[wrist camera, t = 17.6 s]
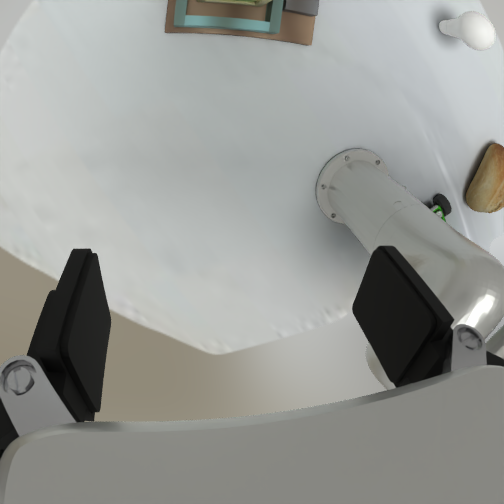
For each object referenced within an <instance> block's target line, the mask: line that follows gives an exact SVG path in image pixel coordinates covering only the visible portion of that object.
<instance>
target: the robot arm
mask: <svg viewBox="0 0 504 504" xmlns="http://www.w3.org/2000/svg"><path fill="white" fill-rule="evenodd" d="M345 156H346V157H345ZM316 196H317V201H318V204H319V207H320V208H321V210H322V211H323V213H324V214H325V215H326V216H327V217H328V218H329V219H331V220H332V221H335V222H337V223H341V224H346V225H347V226H348V228H349V229H350V230H351V231H352V232H353V234H354V235H355V236H356V237H357V239H358V240H359V241H360V243H361V244H362V245H363V246H364V248H365V249H366V250H367V251H368V253H369V254H370V255H371V258H370V261H369V264H368V266H367V269H366V272H365V275H364V277H363V280H362V282H361V285H360V288H359V290H358V293H357V295H356V298H355V300H354V303H353V307H352V310H353V314H354V316H355V317H356V319H357V321H358V323H359V325H360V327H361V328H362V330H363V332H364V334H365V336H366V338H367V339H368V341H369V342H368V344H367V347H366V359H367V363H368V366H369V368H370V370H371V371H372V373H373V374H374V376H375V377H376V378H377V379H378V381H379V382H380V383H381V384H382V385H383V386H384V387H385V388H386V389H387V391H383V392H379V393H375V394H371V395H367V396H362V397H358V398H354V399H349V400H344V401H340V402H335V403H330V404H325V405H319V406H314V407H308V408H302V409H296V410H290V411H283V412H275V413H269V414H260V415H252V416H242V417H233V418H222V419H207V420H188V421H160V422H84V421H94V415H95V412H99V411H100V407H101V397H102V387H103V378H104V369H105V362H106V354H107V347H108V340H109V334H110V327H111V317H110V312H109V307H108V303H107V299H106V295H105V290H104V285H103V281H102V276H101V271H100V266H99V260H98V256H97V254H96V253H92V251H91V249H73V250H72V252H71V254H70V257H69V259H68V261H67V264H66V266H65V268H64V271H63V273H62V275H61V278H60V280H59V283H58V285H57V288H56V290H52V291H50V292H49V294H48V296H47V299H46V302H45V304H44V307H43V310H42V312H41V315H40V318H39V320H38V323H37V326H36V329H35V332H34V335H33V337H32V341H31V344H30V347H29V350H28V353H27V356H24V355H20V356H14V357H12V358H10V359H8V360H7V361H5V362H4V363H3V364H2V365H1V367H0V504H504V325H503V326H502V327H501V328H500V329H499V330H498V331H497V332H496V333H495V334H494V335H493V336H492V337H491V338H490V339H489V340H488V341H487V343H485V339H486V338H487V337H488V335H489V334H490V333H491V332H492V331H493V330H494V329H495V327H496V326H497V325H498V323H499V322H500V321H501V319H502V318H503V316H504V266H503V265H502V264H501V263H500V261H499V260H497V259H496V258H495V257H494V256H493V255H491V254H490V253H489V252H487V251H486V250H484V249H483V248H481V247H480V246H478V245H477V244H475V243H474V242H472V241H470V240H469V239H467V238H466V237H464V236H463V235H462V234H460V233H459V232H457V231H456V230H455V229H453V228H452V227H451V226H450V225H448V224H447V223H446V222H445V221H444V220H442V219H441V218H440V217H439V216H437V215H436V214H435V213H434V212H433V211H431V210H430V209H429V208H428V207H427V206H425V205H424V204H423V203H422V202H421V201H419V200H418V199H417V198H416V197H415V196H413V195H412V194H411V193H410V192H408V191H407V190H406V187H405V186H401V185H399V184H398V183H397V182H396V181H394V180H393V179H392V178H390V177H389V174H388V170H387V167H386V165H385V164H384V162H383V161H382V159H380V158H379V157H378V156H377V155H375V154H374V153H372V152H370V151H368V150H364V149H351V150H347V151H344V152H342V153H340V154H338V155H337V156H335V157H334V158H332V159H331V160H330V161H329V162H328V163H327V164H326V166H325V167H324V169H323V170H322V172H321V174H320V176H319V178H318V182H317V186H316Z"/></svg>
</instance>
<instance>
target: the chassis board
mask: <svg viewBox="0 0 504 504" xmlns="http://www.w3.org/2000/svg"><path fill="white" fill-rule="evenodd" d="M318 7H319V0H272V1H270V2H268V3H267V4H265V5H263V6H262V7H256V6H247V5H237V4H224V3H208V2H197V1H196V0H168V7H167V16H166V25H165V33H206V34H223V35H236V36H246V37H256V38H264V39H271V40H278V41H285V42H291V43H297V44H303V45H311V44H312V37H313V30H314V23H315V16H317V14H318Z"/></svg>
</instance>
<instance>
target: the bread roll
mask: <svg viewBox="0 0 504 504" xmlns="http://www.w3.org/2000/svg"><path fill="white" fill-rule="evenodd" d="M466 201H467V204H468V206H469V207H470V208H471V209H472V210H474V211H477V212H486V213H492V212H496V211H498V210H500V209H501V208H503V207H504V147H503V146H502V145H500V144H496V143H494V144H492V145H491V146H489V148H488V149H487V151H486V153H485V155H484V158H483V160H482V162H481V164H480V166H479V168H478V171H477V173H476V175H475V177H474V179H473V180H472V182H471V184H470V186H469V188H468V190H467V193H466Z"/></svg>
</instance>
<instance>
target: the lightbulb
mask: <svg viewBox="0 0 504 504" xmlns="http://www.w3.org/2000/svg"><path fill="white" fill-rule="evenodd" d="M439 28H440V31H441V32H442V33H443V34H445V35H450V36H452V37H455V38H458V39H460V40H462V41H463V42H464V43H465V44H466V45H467V46H469V47H470V48H473V49H475V50H487V49H489V48H490V47H491V46H492V45H493V44H494V42H495V38H496V34H495V29H494V27H493V25H492V23H491V22H490V21H489V19H488V18H487V17H485V16H484V15H482V14H480V13H478V12H475V11H468V12H465V13H463V14H462V15H460V16H459V17H458V18H456V19H450V20H442V21H441V22H440V24H439Z"/></svg>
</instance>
